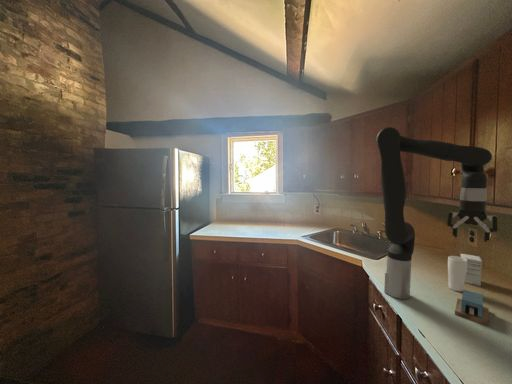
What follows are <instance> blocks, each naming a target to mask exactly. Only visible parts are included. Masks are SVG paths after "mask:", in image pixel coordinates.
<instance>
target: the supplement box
mask: <svg viewBox="0 0 512 384" xmlns="http://www.w3.org/2000/svg"><path fill="white" fill-rule="evenodd" d="M459 255H460V256H459V257H462V258H465V259H467V260H468V261H467V262H468V264H467V272H466V278H465V283H466V284H470V285H473V286H479V287H480V286H482V285H481V283H482V269H483V260H482V258H481V257H480V256H478V255H472V254H465V253H460V254H459ZM465 283H464V284H465Z"/></svg>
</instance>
